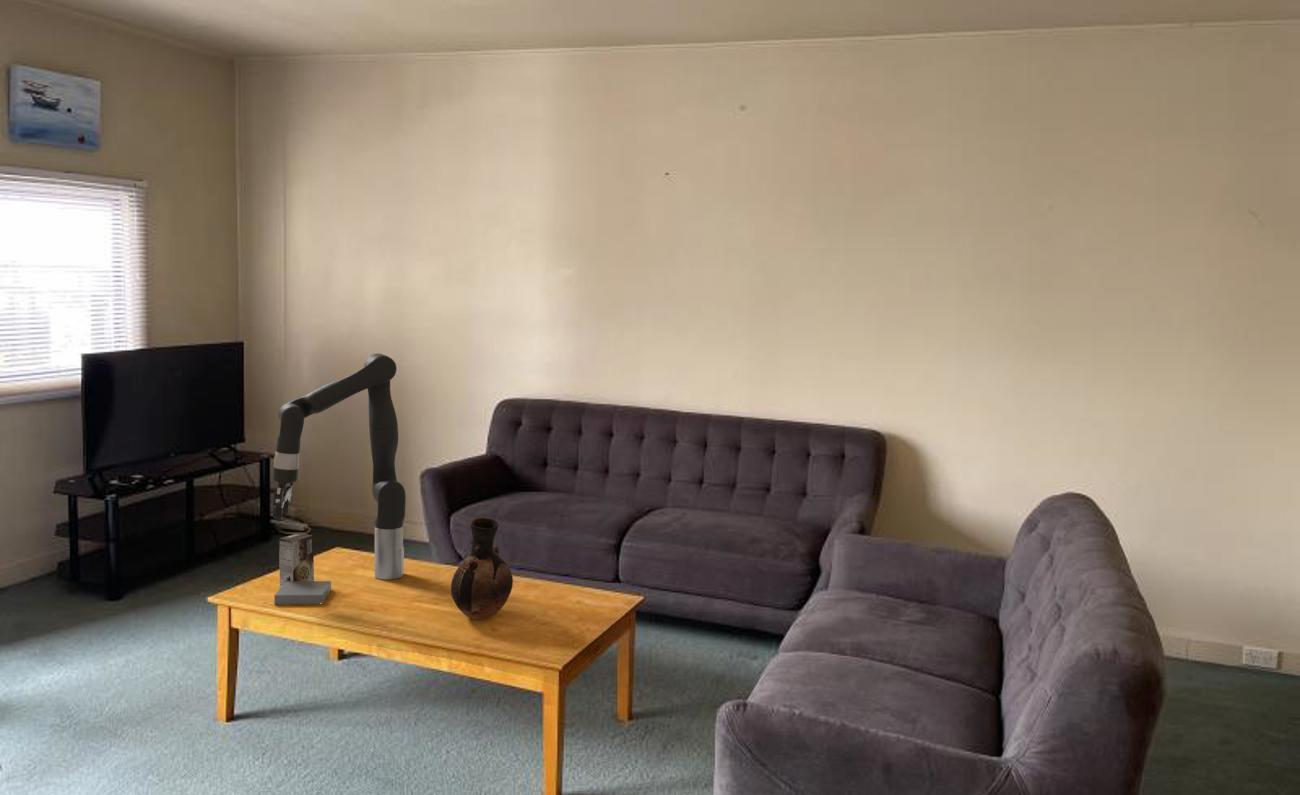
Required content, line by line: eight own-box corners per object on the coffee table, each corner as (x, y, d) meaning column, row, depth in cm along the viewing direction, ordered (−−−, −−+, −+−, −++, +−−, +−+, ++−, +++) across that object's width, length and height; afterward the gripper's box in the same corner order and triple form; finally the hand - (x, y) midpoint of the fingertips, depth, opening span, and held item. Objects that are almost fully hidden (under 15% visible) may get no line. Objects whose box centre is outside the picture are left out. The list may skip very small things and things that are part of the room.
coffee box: (300, 579, 321) (299, 532, 319) (314, 582, 319) (314, 534, 317) (278, 586, 313) (278, 538, 311) (293, 590, 310) (292, 540, 309)
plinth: (331, 590, 311) (331, 581, 311) (322, 604, 298) (321, 594, 297) (285, 590, 310) (285, 581, 309) (274, 604, 296) (274, 595, 296)
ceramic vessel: (474, 601, 305) (476, 508, 302) (524, 610, 299) (526, 515, 295) (437, 622, 285) (438, 523, 282) (489, 632, 279) (490, 530, 276)
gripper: (293, 471, 302) (287, 522, 303) (303, 464, 316) (298, 512, 317) (268, 468, 301) (262, 519, 302) (279, 461, 315) (274, 510, 316)
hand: (281, 516), depth 309 cm, fingers open, 8 cm apart
